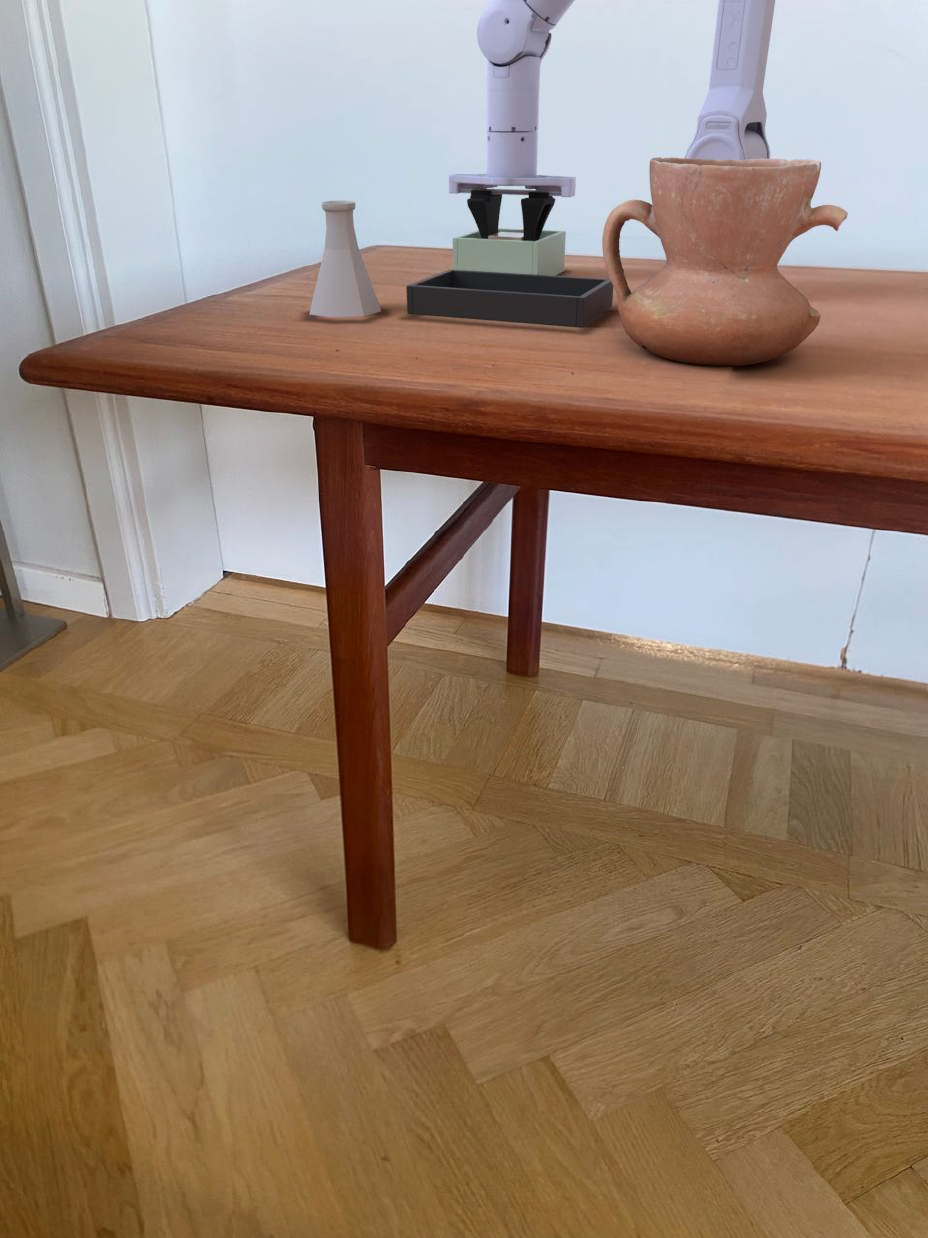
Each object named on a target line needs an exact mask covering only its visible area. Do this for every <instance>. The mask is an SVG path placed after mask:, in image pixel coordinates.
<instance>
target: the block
mask: <svg viewBox="0 0 928 1238" xmlns="http://www.w3.org/2000/svg"><path fill="white" fill-rule="evenodd" d="M523 236H524V233H513V232H499V233H496V234H493V235H490V236H488V239H498V240H519V241H523Z"/></svg>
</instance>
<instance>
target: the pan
mask: <svg viewBox="0 0 928 1238" xmlns="http://www.w3.org/2000/svg"><path fill="white" fill-rule="evenodd" d="M405 287H406V313H407V315H415V316H427V317H443V318H453V319H454V318H455V319H464V320H465V319H466V320H478V321H492V322H501V323H503V322H504V323H516V324H528V325H539V326H540V325H541V326H552V327H553V326H556V327H566V328H577V329H578V328H580V329H583V328H585V327H586V326H588V325H589V324H590V323H592V322H593V321H595V320H596V319H598V317H600V316H602V315H603V314H605V312H607V311H609V310H610V309H611V308H612V307H613V298H614V287H613V284H612V282H611V280H610V278H597V277H582V276H581V277H580V276H567V275H566V276H565V275H564V276H563V275H556V276H550V275H534V274H517V273H501V272H484V271H468V270H453V269H452V268H451V269H448V270H444V271H442V272H439V273H436V274H434V275H431V276H428V277H426V278H423V279H421V280H419V281H415V282H412V283H410V284H407V285H406V286H405Z"/></svg>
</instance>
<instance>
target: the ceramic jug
mask: <svg viewBox="0 0 928 1238" xmlns="http://www.w3.org/2000/svg"><path fill="white" fill-rule="evenodd" d="M648 169H649V170H648V171H649V172H648V173H649V175H648V176H649V190H650V197H651V198H650V199H651V203H650V202H648V201H644V200H642V199H631V200H627V201H624V202H622V203H620V204H618V205H616V206H615V207H614V208H613V209H612V210H611V212H610V213H609V214H608V216H607V217H606V220H605V223H604V225H603V231H602V238H601V239H602V240H601V243H602V245H601V247H602V256H603V261H604V266H605V269H606V272H607V274H608V277H609V279H610V280H611V282H612V284H613V290H614V291H615V294H616V298H617V303H616V304H617V311H618V314H619V316H620V318H621V323H622V324H621V325H622V327H623V329H624V332H625V333H626V335H627V336H628V337H629V338H630V339H631V341H632V342H633V343H635V344H636V345H638V346H639V347H640V348H642V349H644V350H645V351H648V352H650V353H651V354H653V355H655V356H658V357H661V358H664V359H667V360H670V361H674V362H679V363H684V364H689V365H700V366H711V367H712V366H713V367H714V366H715V367H743V366H748V365H749V366H750V365H755V364H760V363H764V362H767V361H771V360H773V359H777V358H780V357H783V356H784V355H786V354H788V353H790V352H791V351H793V350H795V349H796V348H797V347H798V346H799V345H801V344H802V343H803V342H804V341H805V340H807V338H808V337H809V336H810V335H811V334H812V333H813V332H814V331H815V330H816V328H817V327H818V326H819V323H820V320H821V317H822V314H821V313H820V312H819V311H818V310H817V309H816V308H815V307H812V306H811V304H810V302H809V299H808V298H806V296H804V294H803V293H802V292H801V291H800V290H799V289H797V288H796V286H794V285H793V284H792V283H791V282H790V281H788V280H787V278H786V277H785V276H784V275H783V274H782V273H780V271H779V270H778V264H779V262H780V261H781V259H782V257H783V255H784V254H785V252H786V251H787V249H788V247H789V245H790V244H791V243H792V242H793V241H794V240H795V239H796V238H798V237H799V236H801V235H803V234H805V233H807V232H808V231H810V230H812V229H813V228H815V227H820V226H827V227H830V228H833V230H834V231H835V232H838V231H839V228H840V226H841V225H842V223H843V222H844V221H845V220H847V218H848V215H849V212H848V211H847V210H845V209H844V208H842V207H840V206H837V205H833V204H823V205H818V206H815V207H812V206H811V203H812V200H813V196H815V195H814V194H815V192H816V189H817V187H818V183H819V179H820V176H821V170H822V161H820V160H815V159H802V158H801V159H799V158H798V159H797V158H796V159H790V160H789V159H784V158H770V159H747V160H738V161H736V160H732V159H729V160H713V159H687V158H685V157H682V158H681V157H660V156H659V157H652V158H651V159H649V168H648ZM630 220H634V221H637V222H640V223H641V224H643V225H644V226H645V227H646V228H647V229H648V230H649V231H651V232H652V233H653V234H654V235H655V236H657V237H658V238H659V240H660V243H661V247H662V249H663V252H664V255H665V260H666V263H665V265H664V266H663V267H662V268H661V269H660V270H659V271H658V272H657V273H655V275H653V276H652V277H651V278H649V279H648V280H647V281H645V282H644V283H642V284H641V285H640V286H639V285H638V287H637V288H636V289H634V290H633V291H632V290H631V288H629V284H628V281H627V278H626V276H625V269H624V268H623V264H622V260H621V251H620V239H621V232H622V229H623V227H624V226H625V223H626V222H628V221H630Z"/></svg>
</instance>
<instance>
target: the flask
mask: <svg viewBox="0 0 928 1238" xmlns="http://www.w3.org/2000/svg"><path fill="white" fill-rule="evenodd" d="M321 208H322V211H324V214H325V229H326V230H325V240H324V249H323V254H322V258H321V264H320V267H319V271H318V277H317V281H316V283H315V284H316V285H315V288H314V292H313V295H312V296H313V297H312V300H311V305H310V309H309V316H318V317H327V318H361V317H363V318H364V317H367V316H371V315H373V314H376V313H380V312H382V308H381V305H380V302H379V299H378V296H377V294H376V292H375V289H374V286H373V283H372V281H371V279H370V276H369V273H368V271H367V267H366V265H365V262H364V259H363V256H362V253H361V250H360V248H359V244H358V239H357V236H356V235H357V234H356V230H355V225H354V224H355V223H354V210H355V209H356V201H354V200H326V201H322V202H321Z"/></svg>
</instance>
